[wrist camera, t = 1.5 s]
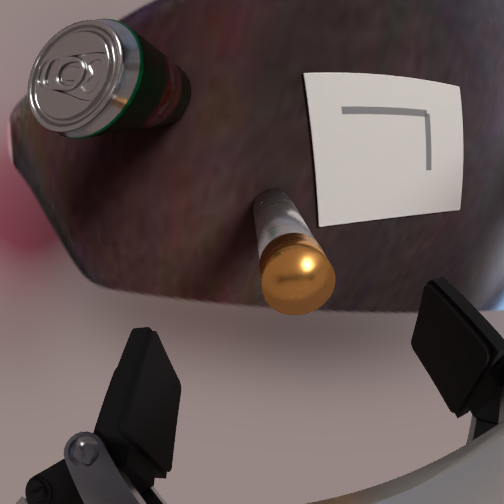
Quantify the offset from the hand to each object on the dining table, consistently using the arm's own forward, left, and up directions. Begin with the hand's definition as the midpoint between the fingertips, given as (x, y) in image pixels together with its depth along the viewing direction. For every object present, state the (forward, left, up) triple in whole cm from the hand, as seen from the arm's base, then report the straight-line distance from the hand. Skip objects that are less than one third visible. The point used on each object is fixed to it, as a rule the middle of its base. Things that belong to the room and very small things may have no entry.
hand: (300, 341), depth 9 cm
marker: (-1, 0, -14) cm, 14 cm away
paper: (-12, -4, -14) cm, 19 cm away
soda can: (+6, -10, -14) cm, 19 cm away
